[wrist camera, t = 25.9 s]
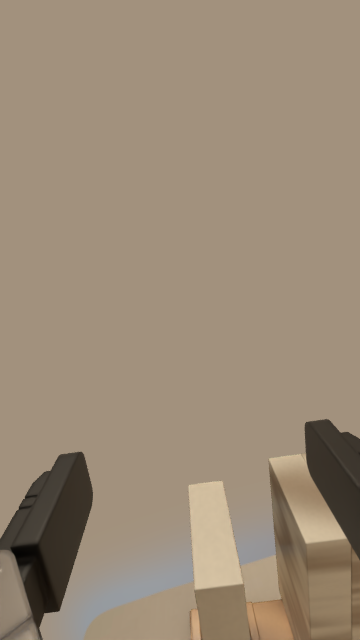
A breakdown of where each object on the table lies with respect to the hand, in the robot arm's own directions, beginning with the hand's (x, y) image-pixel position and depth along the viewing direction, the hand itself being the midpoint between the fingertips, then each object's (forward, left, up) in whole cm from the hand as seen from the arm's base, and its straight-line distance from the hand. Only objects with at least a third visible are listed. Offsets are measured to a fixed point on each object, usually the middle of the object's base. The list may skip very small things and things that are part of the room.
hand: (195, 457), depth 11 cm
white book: (-1, +10, -31) cm, 33 cm away
